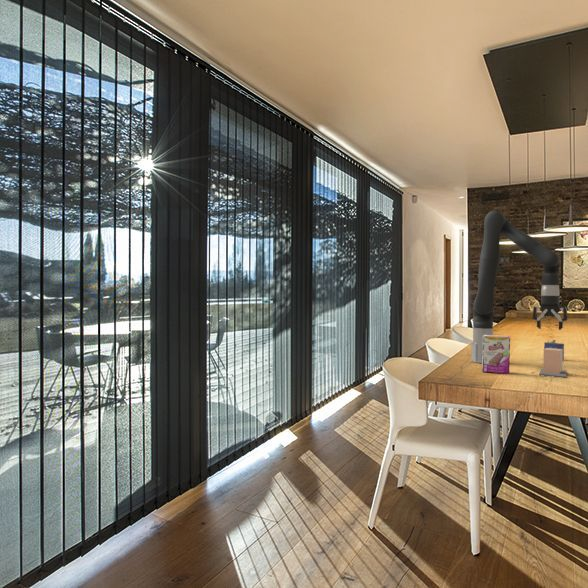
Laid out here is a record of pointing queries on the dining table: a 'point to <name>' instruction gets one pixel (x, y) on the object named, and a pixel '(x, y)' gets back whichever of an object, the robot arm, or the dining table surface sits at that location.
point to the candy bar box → (496, 354)
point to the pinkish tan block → (553, 360)
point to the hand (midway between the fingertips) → (549, 329)
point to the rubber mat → (553, 373)
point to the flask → (554, 346)
